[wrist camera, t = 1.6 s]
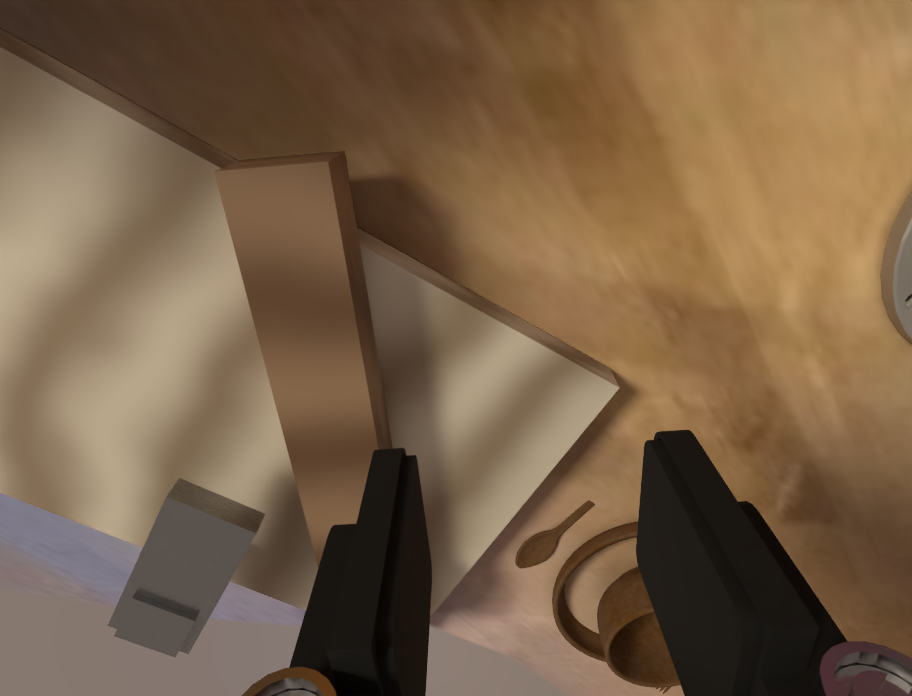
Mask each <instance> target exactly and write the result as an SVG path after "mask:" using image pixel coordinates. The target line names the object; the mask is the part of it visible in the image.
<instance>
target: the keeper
mask: <svg viewBox="0 0 912 696" xmlns="http://www.w3.org/2000/svg"><path fill="white" fill-rule="evenodd" d="M264 516H265V514H264V513H262V512H260V511H257V510H255V509H253V508H250V507H248V506H245V505H243V504H241V503H238V502H236V501H233V500H231V499H229V498H226V497H224V496H222V495H219V494H217V493H214V492H212V491H210V490H207V489H205V488H202V487H200V486H198V485H195V484H193V483H191V482H188V481H186V480H183V479H181V478H179V479H178V481H177V482H176V483H175V485H174V486H173V488H172V489H171V490H170V492H169V493H168V495H167V496H166V498H165V500H164V503H163V505H162V507H161V509H160V511H159V514H158V516H157V518H156V520H155V522H154V525H153V527H152V529H151V531H150V534H149V536H148V538H147V540H146V542H145V545H144V547H143V549H142V551H141V553H140V556H139V558H138V560H137V562H136V564H135V567H134V569H133V571H132V573H131V576H130V578H129V580H128V582H127V584H126V587H125V589H124V591H123V593H122V595H121V598H120V600H119V602H118V604H117V606H116V609H115V611H114V613H113V615H112V618H111V620H110V622H109V624H108V626H111V627H113V628H116V629H117V631H116V633H115V635H114V636H115V637H118V638H121V639H124V640H127V641H130V642H132V643H136V644H138V645H141V646H144V647H147V648H150V649H153V650H156V651H159V652H161V653H164V654H167V655H170V656H173V657H176V655H177V653H178V651H182V652H184V653H187V654H189V652H190V650H191V649H192V647H193V645H194V643H195V641H196V640H197V638H198V636H199V634H200V633H201V631H202V629H203V627H204V626H205V624H206V622H207V620H208V619H209V617H210V615H211V613H212V611H213V610H214V608H215V606H216V604H217V603H218V601H219V599H220V597H221V596H222V594H223V592H224V590H225V588H226V587H227V585H228V583H229V581H230V580H231V578H232V576H233V574H234V573H235V571H236V569H237V567H238V566H239V564H240V562H241V560H242V558H243V557H244V555H245V553H246V551H247V550H248V548H249V546H250V544H251V543H252V541H253V539H254V537H255V535H256V534H257V532H258V529H259V527H260V525H261V523H262V520H263V518H264Z"/></svg>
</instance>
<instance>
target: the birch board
mask: <svg viewBox="0 0 912 696" xmlns="http://www.w3.org/2000/svg"><path fill="white" fill-rule="evenodd" d="M238 162H239V161H237V160H235V159H233V158H232V157H230V156H228V155H226V154H224V153H223V152H221V151H219V150H217V149H215V148H214V147H212V146H210V145H208V144H206V143H205V142H203V141H201V140H199V139H197V138H196V137H194V136H192V135H190V134H188V133H187V132H185V131H183V130H181V129H179V128H178V127H176V126H174V125H172V124H171V123H169V122H167V121H165V120H163V119H162V118H160V117H158V116H156V115H154V114H153V113H151V112H149V111H147V110H145V109H144V108H142V107H140V106H138V105H136V104H135V103H133V102H131V101H129V100H127V99H126V98H124V97H122V96H120V95H118V94H117V93H115V92H113V91H111V90H110V89H108V88H106V87H104V86H102V85H101V84H99V83H97V82H95V81H93V80H92V79H90V78H88V77H86V76H84V75H83V74H81V73H79V72H77V71H75V70H74V69H72V68H70V67H68V66H66V65H65V64H63V63H61V62H59V61H57V60H56V59H54V58H52V57H50V56H48V55H47V54H45V53H43V52H41V51H40V50H38V49H36V48H34V47H32V46H31V45H29V44H27V43H25V42H23V41H22V40H20V39H18V38H16V37H14V36H13V35H11V34H9V33H7V32H5V31H4V30H2V29H0V493H2V494H5V495H8V496H10V497H13V498H15V499H18V500H21V501H23V502H26V503H28V504H31V505H34V506H36V507H39V508H41V509H44V510H47V511H49V512H52V513H54V514H57V515H60V516H62V517H65V518H67V519H70V520H72V521H75V522H78V523H80V524H83V525H85V526H88V527H91V528H93V529H96V530H98V531H101V532H104V533H106V534H109V535H111V536H114V537H117V538H119V539H122V540H124V541H127V542H130V543H132V544H135V545H137V546H140V547H142V548H143V547H144V545H145V542H146V540H147V538H148V536H149V534H150V531H151V529H152V527H153V525H154V522H155V520H156V518H157V516H158V514H159V511H160V509H161V507H162V505H163V503H164V500H165V498H166V496H167V495H168V493H169V492H170V490H171V489H172V488H173V486H174V485H175V483H176V482H177V481H178V479H179V478H181V479H183V480H186V481H188V482H191V483H193V484H195V485H198V486H200V487H202V488H205V489H207V490H210V491H212V492H214V493H217V494H219V495H222V496H224V497H226V498H229V499H231V500H233V501H236V502H238V503H241V504H243V505H245V506H248V507H250V508H253V509H255V510H257V511H260V512H262V513H264V514H265V516H264V518H263V520H262V523H261V525H260V527H259V529H258V532H257V534H256V535H255V537H254V539H253V541H252V543H251V544H250V546H249V548H248V550H247V551H246V553H245V555H244V557H243V558H242V560H241V562H240V564H239V566H238V567H237V569H236V571H235V573H234V574H233V576H232V578H231V580H230V581H231V582H233V583H236V584H238V585H241V586H244V587H246V588H249V589H251V590H254V591H257V592H259V593H262V594H264V595H267V596H269V597H272V598H275V599H277V600H280V601H282V602H285V603H288V604H290V605H293V606H295V607H298V608H301V609H303V610H306V609H307V606H308V602H309V599H310V595H311V592H312V588H313V585H314V582H315V578H316V575H317V571H318V565H317V561H316V557H315V553H314V549H313V546H312V542H311V538H310V534H309V530H308V527H307V523H306V519H305V515H304V511H303V508H302V504H301V500H300V496H299V492H298V489H297V485H296V481H295V477H294V473H293V470H292V466H291V462H290V458H289V454H288V451H287V447H286V443H285V439H284V435H283V432H282V428H281V424H280V420H279V416H278V413H277V409H276V405H275V401H274V397H273V394H272V390H271V386H270V382H269V378H268V375H267V371H266V367H265V363H264V359H263V356H262V352H261V348H260V344H259V340H258V337H257V333H256V329H255V325H254V321H253V318H252V314H251V310H250V306H249V302H248V299H247V295H246V291H245V287H244V283H243V280H242V276H241V272H240V268H239V264H238V261H237V257H236V253H235V249H234V245H233V242H232V238H231V234H230V230H229V226H228V223H227V219H226V215H225V211H224V207H223V204H222V200H221V196H220V192H219V188H218V185H217V181H216V177H215V173H214V171H216V170H219V169H222V168H224V167H227V166H230V165H232V164H235V163H238ZM357 231H358V237H359V243H360V250H361V256H362V262H363V268H364V274H365V280H366V287H367V293H368V299H369V305H370V311H371V317H372V324H373V330H374V336H375V342H376V348H377V354H378V361H379V367H380V373H381V379H382V385H383V392H384V398H385V404H386V410H387V416H388V422H389V429H390V435H391V441H392V447H393V448H404V449H405V451H406V456H408V455H416V457H417V462H418V469H419V476H420V483H421V490H422V497H423V505H424V512H425V519H426V526H427V533H428V540H429V547H430V555H431V562H432V590H431V607H430V617H431V616H432V615H433V614H434V613H435V611H436V610H437V609H438V608H439V607H440V605H441V604H442V603H443V602H444V600H445V599H446V598H447V597H448V596H449V594H450V593H451V592H452V591H453V590H454V588H455V587H456V586H457V585H458V583H459V582H460V581H461V580H462V579H463V577H464V576H465V575H466V574H467V573H468V571H469V570H470V569H471V568H472V566H473V565H474V564H475V563H476V562H477V560H478V559H479V558H480V557H481V556H482V554H483V553H484V552H485V551H486V549H487V548H488V547H489V546H490V545H491V543H492V542H493V541H494V540H495V539H496V537H497V536H498V535H499V534H500V532H501V531H502V530H503V529H504V528H505V526H506V525H507V524H508V523H509V522H510V520H511V519H512V518H513V517H514V516H515V514H516V513H517V512H518V511H519V509H520V508H521V507H522V506H523V505H524V503H525V502H526V501H527V500H528V499H529V497H530V496H531V495H532V494H533V492H534V491H535V490H536V489H537V488H538V486H539V485H540V484H541V483H542V482H543V480H544V479H545V478H546V477H547V475H548V474H549V473H550V472H551V471H552V469H553V468H554V467H555V466H556V465H557V463H558V462H559V461H560V460H561V458H562V457H563V456H564V455H565V454H566V452H567V451H568V450H569V449H570V448H571V446H572V445H573V444H574V443H575V441H576V440H577V439H578V438H579V437H580V435H581V434H582V433H583V432H584V431H585V429H586V428H587V427H588V426H589V424H590V423H591V422H592V421H593V420H594V418H595V417H596V416H597V415H598V414H599V412H600V411H601V410H602V409H603V407H604V406H605V405H606V404H607V403H608V401H609V400H610V399H611V398H612V397H613V395H614V394H615V393H616V392H617V390H618V389H619V388H620V387H619V385H618V384H617V382H616V380H615V378H614V376H613V374H612V372H611V370H610V368H608V367H607V366H605V365H603V364H601V363H599V362H598V361H596V360H594V359H592V358H590V357H589V356H587V355H585V354H583V353H581V352H580V351H578V350H576V349H574V348H572V347H571V346H569V345H567V344H565V343H564V342H562V341H560V340H558V339H556V338H555V337H553V336H551V335H549V334H547V333H546V332H544V331H542V330H540V329H538V328H537V327H535V326H533V325H531V324H529V323H528V322H526V321H524V320H522V319H520V318H519V317H517V316H515V315H513V314H511V313H510V312H508V311H506V310H504V309H503V308H501V307H499V306H497V305H495V304H494V303H492V302H490V301H488V300H486V299H485V298H483V297H481V296H479V295H477V294H476V293H474V292H472V291H470V290H468V289H467V288H465V287H463V286H461V285H459V284H458V283H456V282H454V281H452V280H450V279H449V278H447V277H445V276H443V275H441V274H440V273H438V272H436V271H434V270H433V269H431V268H429V267H427V266H425V265H424V264H422V263H420V262H418V261H416V260H415V259H413V258H411V257H409V256H407V255H406V254H404V253H402V252H400V251H398V250H397V249H395V248H393V247H391V246H389V245H388V244H386V243H384V242H382V241H380V240H379V239H377V238H375V237H373V236H372V235H370V234H368V233H366V232H364V231H363V230H361V229H359V228H357Z"/></svg>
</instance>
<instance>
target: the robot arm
mask: <svg viewBox="0 0 912 696" xmlns="http://www.w3.org/2000/svg"><path fill="white" fill-rule="evenodd" d="M881 287H882V298H883V301H884V304H885V307H886V310H887V313H888V316H889V318H890V319H891V321H892V322H893V324H894V325H895V327H896V328H897V330H898V332H899V333H900V334H901V335H902V336H904V337H905V338H906V339H907V340H908V341H909V342H910V343H912V192H911V193H910V194H909V196H908V197H907V199H906V201H905V203H904V205H903V207H902V208H901V210H900V212H899V214H898V216H897V218H896V220H895V221H894V223H893V226H892V229H891V232H890V235H889V238H888V240H887V243H886V246H885V249H884V255H883V262H882V268H881ZM636 555H637V562H638V567H639V570H640V573H641V576H642V579H643V581H644V584H645V587H646V590H647V593H648V595H649V598H650V601H651V604H652V606H653V609H654V612H655V615H656V617H657V620H658V623H659V626H660V628H661V631H662V634H663V637H664V640H665V642H666V645H667V648H668V651H669V653H670V656H671V659H672V662H673V664H674V667H675V670H676V673H677V675H678V678H679V681H680V684H681V687H682V689H683V692H684V695H685V696H912V659H911V658H910V657H908V656H906V655H904V654H902V653H900V652H897V651H895V650H893V649H890V648H888V647H886V646H882V645H878V644H873V643H869V642H864V641H860V642H848V641H847V640H846V639H845V637H844V636H843V634H842V633H841V631H840V630H839V628H838V627H837V625H836V624H835V622H834V621H833V620H832V618H831V617H830V615H829V614H828V612H827V611H826V609H825V608H824V606H823V605H822V604H821V602H820V601H819V599H818V598H817V596H816V595H815V593H814V592H813V590H812V589H811V587H810V586H809V585H808V583H807V582H806V580H805V579H804V577H803V576H802V574H801V573H800V571H799V570H798V568H797V567H796V566H795V564H794V563H793V561H792V560H791V558H790V557H789V555H788V554H787V552H786V551H785V550H784V548H783V547H782V545H781V544H780V542H779V541H778V539H777V538H776V536H775V535H774V533H773V532H772V531H771V529H770V528H769V526H768V525H767V523H766V522H765V520H764V519H763V517H762V516H761V515H760V513H759V512H758V510H757V509H756V508H755V507H754V506H753V505H752V504H751V503H749V502H747V501H742V502H737V500H736V499H735V497H734V495H733V494H732V492H731V491H730V489H729V488H728V486H727V485H726V483H725V482H724V480H723V479H722V477H721V476H720V474H719V472H718V471H717V469H716V468H715V466H714V465H713V463H712V462H711V460H710V459H709V457H708V456H707V454H706V453H705V451H704V449H703V448H702V446H701V445H700V443H699V442H698V440H697V439H696V437H695V436H694V434H693V433H692V432H691V431H690V430H678V431H662V432H657V433H656V434H655V437H654V440H647V441H646V442H645V446H644V457H643V469H642V482H641V495H640V507H639V520H638V533H637V545H636ZM431 590H432V562H431V555H430V547H429V540H428V533H427V526H426V519H425V512H424V505H423V497H422V490H421V483H420V476H419V469H418V462H417V457H416V455H408V456H406V451H405V449H404V448H393V449H377V450H374V452H373V455H372V459H371V463H370V468H369V472H368V476H367V480H366V485H365V489H364V493H363V497H362V502H361V506H360V510H359V514H358V519H357V523H356V524H342V525H333V526H332V528H331V529H330V531H329V534H328V537H327V540H326V544H325V547H324V551H323V554H322V558H321V561H320V564H319V568H318V571H317V575H316V578H315V582H314V585H313V588H312V592H311V595H310V599H309V602H308V606H307V609H306V612H305V616H304V619H303V623H302V626H301V630H300V633H299V637H298V640H297V643H296V647H295V650H294V653H293V657H292V660H291V664H290V667H289V668H284V669H282V670H279V671H276V672H273V673H271V674H268V675H267V676H265V677H264V678H262V679H261V680H259V681H258V682H256V683H255V684H253V685H252V686H251V687H250V688H249V689H248V690H247V691H246V692H245V693H244V694H243V695H242V696H425V692H426V675H427V657H428V641H429V624H430V607H431Z"/></svg>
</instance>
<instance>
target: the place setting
mask: <svg viewBox="0 0 912 696" xmlns="http://www.w3.org/2000/svg"><path fill="white" fill-rule="evenodd" d="M594 505H595V504H594V503H593V502H591V501H587V502H586V503H584V504H583V505H582V506H581V507H579V508H578V509H577V510H576V511H575V512H574V513H573V514H572V515H571V516H569V517H568V518H567V519H566V520H565V521H564V522H563V523H561V524H560V525H559V526H557V527H556V528H554V529H552V530H548V531H543V532H540V533H537V534H535V535H534V536H532V537H531V538H529V539H528V540H527V541H525V542H524V543H523V545H522V546H521V547H520V549H519V551H518V553H517V556H516V565H517V566H518V567H519V568H527V567H531V566H534V565H537V564H539V563H541V562H543V561H544V560H546V559H547V558H548V557H549V556H550V555H551V554H552V552H553V551H554V549H555V547H556V544H557V541H558V539H559V537H560V536H561V534H562V533H563V532H564V531H565V530H566V529H567V528H568V527H570V526H571V525H572V524H573V523H574V522H575V521H577V520H578V519H579V518H580V517H581V516H582V515H584V514H585V513H586V512H587V511H588V510H590V509H591V508H592V507H593V506H594ZM637 533H638V522H634V523H629V524H625V525H621V526H618V527H615V528H612V529H610V530H607V531H605V532H603V533H601V534H599V535H597V536H595V537H593V538H592V539H590V540H589V541H587V542H586V543H584V544H583V545H582V546H581V547H579V548H578V549H577V550H576V551H575V552H574V553H573V554H572V555H571V556H570V557H569V558H568V560H567V561H566V562H565V564H564V565H563V567H562V568H561V570H560V572H559V574H558V576H557V578H556V582H555V585H554V589H553V598H552V604H553V614H554V618H555V622H556V625H557V627H558V629H559V631H560V632H561V634H562V635H563V636H564V638H565V639H566V640H567V641H568V642H569V643H570V644H571V645H572V646H574V647H575V648H576V649H578V650H579V651H581V652H583V653H584V654H586V655H588V656H590V657H593V658H595V659H598V660H601V661H605V662H607V664H608V666H609V667H610V669H611V670H612V671H613V672H614V673H615V674H616V675H617V676H619V677H620V678H622V679H624V680H626V681H628V682H630V683H633V684H636V685H640V686H645V687H657V688H656V689H658V688H659V687H662V688H661V689H660V691H661V690H663V689H664V688H665V687H667V688H666V690H665V691H664V692H663V694H664V693H665V692H666V691H667V690H668V689H669V688H670V687H671V686H677V685H681V684H680V681H679V678H678V675H677V673H676V670H675V667H674V664H673V662H672V659H671V656H670V653H669V651H668V648H667V645H666V642H665V640H664V637H663V634H662V631H661V628H660V626H659V623H658V620H657V617H656V615H655V612H654V609H653V606H652V604H651V601H650V598H649V595H648V593H647V590H646V587H645V584H644V581H643V579H642V576H641V573H640V570H639V567H637V568H634V569H631V570H629V571H627V572H626V573H624V574H623V575H622V576H620V577H619V578H618V579H617V580H616V581H614V582H613V583H612V584H611V585H610V586H609V587H608V588H607V590H606V591H605V592H604V594H603V596H602V598H601V600H600V603H599V606H598V613H597V620H598V629H599V634H598V633H595V632H593V631H591V630H590V629H588V628H586V627H585V626H583V625H582V624H581V623H579V622H578V621H577V620H576V619H575V618H574V616H573V615H572V613H571V612H570V610H569V608H568V606H567V604H566V600H565V593H564V589H565V582H566V580H567V579H568V577H569V576H570V574H571V573H572V572H573V571H574V570H575V569H576V568H577V567H578V565H580V564H581V563H582V562H583V561H584V560H586V559H587V558H588V557H590V556H591V555H593V554H594V553H596V552H597V551H599V550H601V549H603V548H605V547H607V546H609V545H612V544H614V543H617V542H619V541H623V540H626V539H630V538H634V537H637ZM660 691H659V692H660Z"/></svg>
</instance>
